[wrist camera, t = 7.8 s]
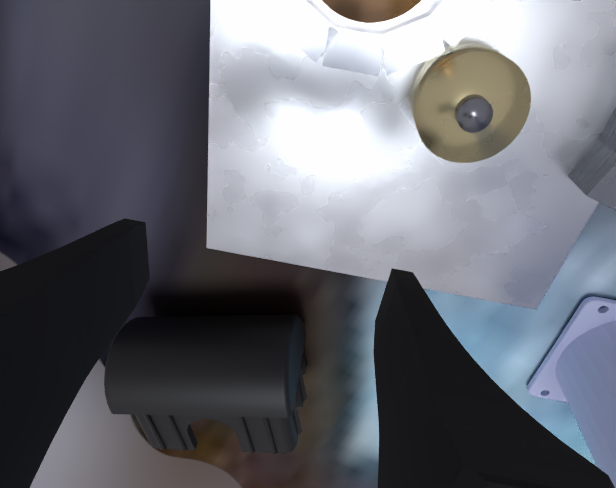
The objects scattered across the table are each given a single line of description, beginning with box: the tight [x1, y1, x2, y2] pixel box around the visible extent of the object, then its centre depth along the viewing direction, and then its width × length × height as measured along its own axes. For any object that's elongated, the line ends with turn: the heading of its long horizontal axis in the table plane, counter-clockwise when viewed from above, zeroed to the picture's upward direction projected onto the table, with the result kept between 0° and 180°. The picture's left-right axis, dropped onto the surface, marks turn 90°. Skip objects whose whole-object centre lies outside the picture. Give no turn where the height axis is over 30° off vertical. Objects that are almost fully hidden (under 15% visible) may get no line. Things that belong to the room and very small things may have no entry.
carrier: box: [207, 0, 616, 309], centre depth 17 cm, size 18×20×4 cm
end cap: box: [104, 314, 307, 454], centre depth 25 cm, size 10×7×7 cm
